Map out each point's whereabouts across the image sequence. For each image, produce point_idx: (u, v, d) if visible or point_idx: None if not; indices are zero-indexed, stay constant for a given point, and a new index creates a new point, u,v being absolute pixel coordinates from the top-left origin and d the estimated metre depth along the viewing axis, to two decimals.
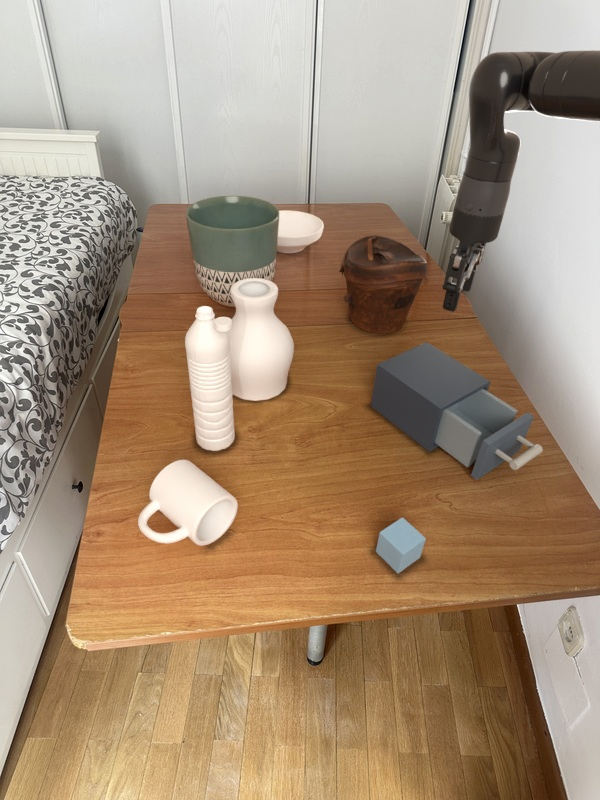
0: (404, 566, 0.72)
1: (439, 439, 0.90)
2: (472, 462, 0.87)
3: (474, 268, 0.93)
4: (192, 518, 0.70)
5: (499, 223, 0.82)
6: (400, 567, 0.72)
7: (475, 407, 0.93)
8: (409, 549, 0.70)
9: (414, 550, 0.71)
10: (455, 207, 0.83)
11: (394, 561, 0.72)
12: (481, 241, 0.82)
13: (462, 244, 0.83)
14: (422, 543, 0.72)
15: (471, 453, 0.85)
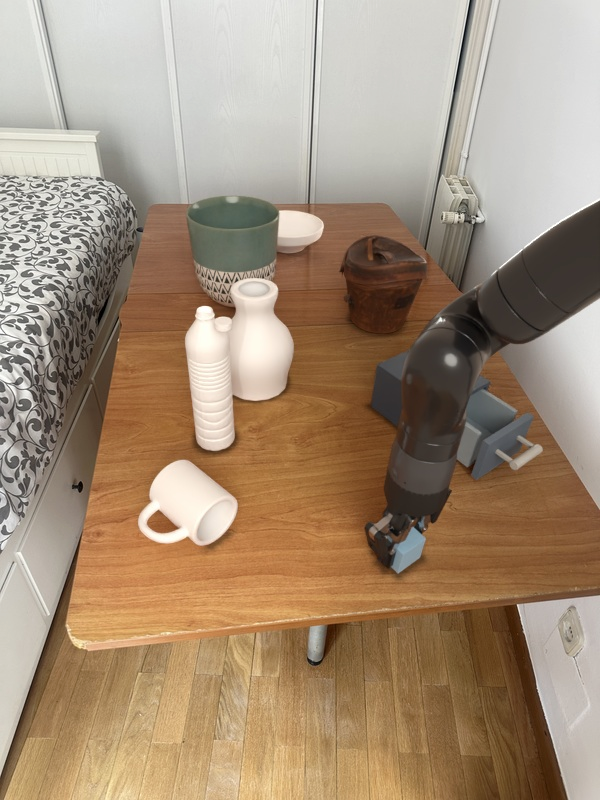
0: (404, 566, 0.72)
1: None
2: (472, 462, 0.87)
3: (419, 530, 0.72)
4: (192, 518, 0.70)
5: (436, 500, 0.62)
6: (400, 567, 0.72)
7: (475, 407, 0.93)
8: (409, 549, 0.70)
9: (414, 550, 0.71)
10: None
11: (394, 561, 0.72)
12: (409, 514, 0.64)
13: (388, 507, 0.66)
14: (422, 543, 0.72)
15: (471, 453, 0.85)
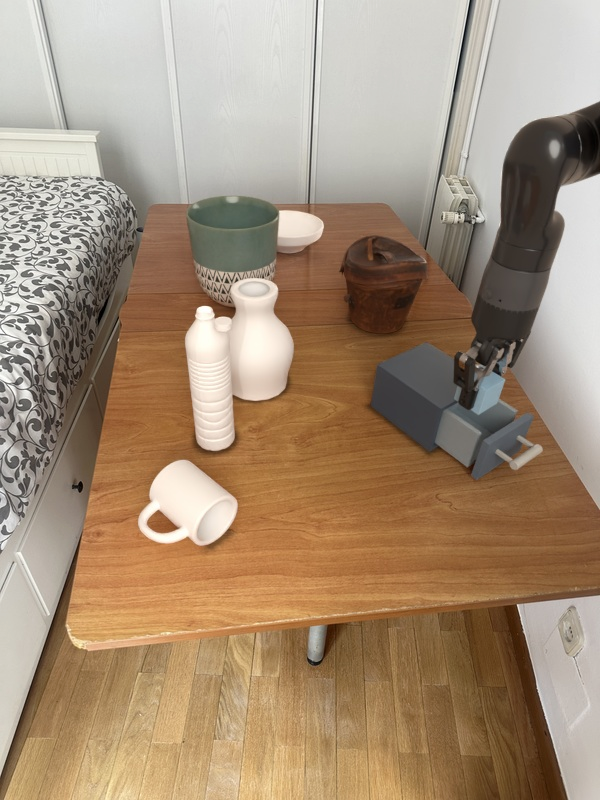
0: (484, 408, 0.75)
1: (439, 439, 0.90)
2: (472, 462, 0.87)
3: (499, 373, 0.75)
4: (192, 518, 0.70)
5: (527, 320, 0.65)
6: (481, 407, 0.75)
7: None
8: (492, 386, 0.73)
9: (494, 390, 0.74)
10: None
11: (475, 401, 0.75)
12: (500, 337, 0.67)
13: (477, 335, 0.68)
14: (502, 384, 0.75)
15: (471, 453, 0.85)
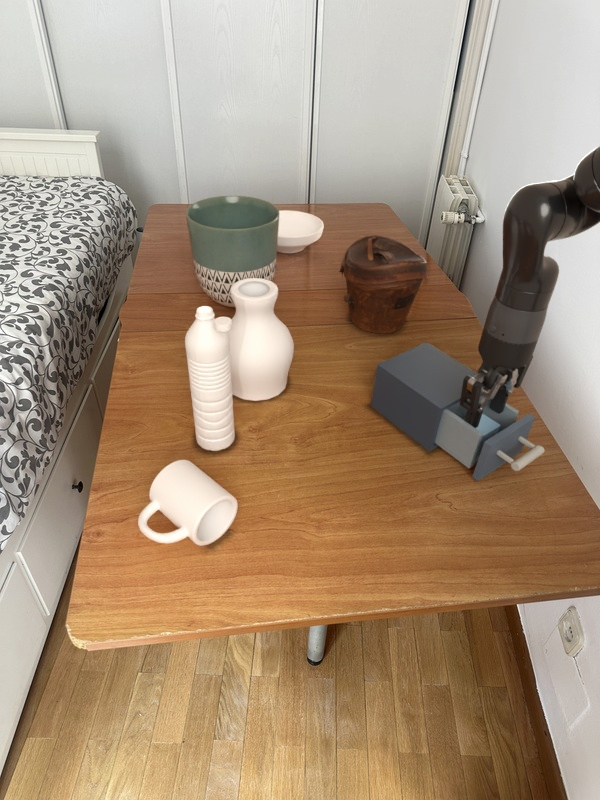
0: None
1: (440, 440, 0.89)
2: (473, 463, 0.87)
3: (506, 392, 0.85)
4: (192, 518, 0.70)
5: (527, 351, 0.75)
6: (479, 449, 0.87)
7: None
8: (488, 432, 0.86)
9: (491, 435, 0.87)
10: None
11: None
12: (503, 366, 0.76)
13: (484, 363, 0.78)
14: (497, 429, 0.87)
15: (472, 454, 0.84)
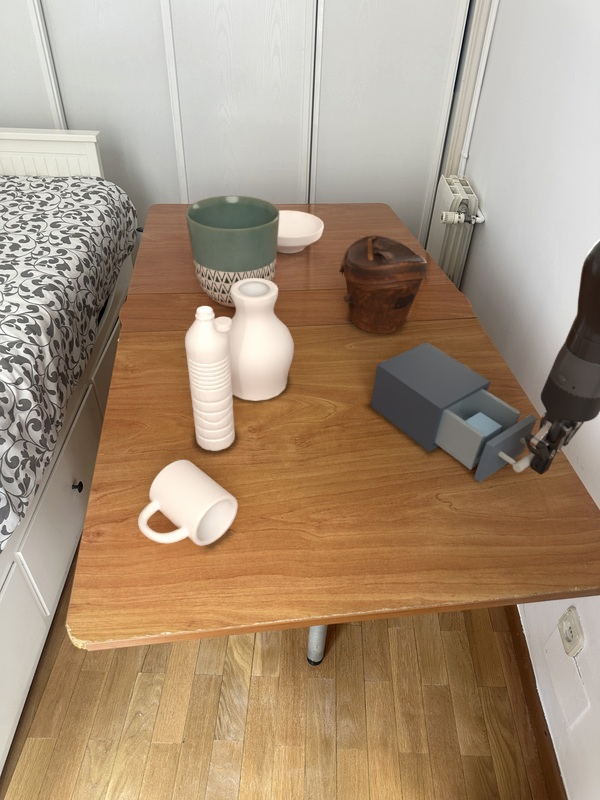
0: (483, 450, 0.87)
1: (441, 441, 0.89)
2: (475, 464, 0.86)
3: None
4: (192, 518, 0.70)
5: (598, 405, 0.69)
6: (481, 450, 0.87)
7: (477, 409, 0.93)
8: (490, 433, 0.85)
9: (492, 436, 0.87)
10: (550, 373, 0.71)
11: None
12: (571, 419, 0.70)
13: (548, 415, 0.72)
14: (499, 430, 0.87)
15: (474, 455, 0.84)
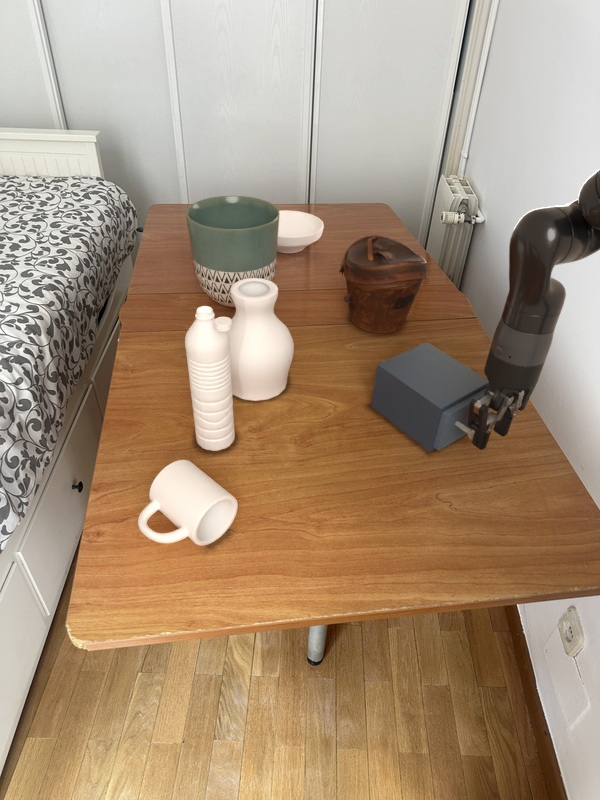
0: None
1: None
2: None
3: (510, 415, 0.84)
4: (192, 518, 0.70)
5: (534, 373, 0.74)
6: None
7: None
8: None
9: None
10: None
11: None
12: (510, 388, 0.76)
13: (490, 385, 0.77)
14: None
15: None
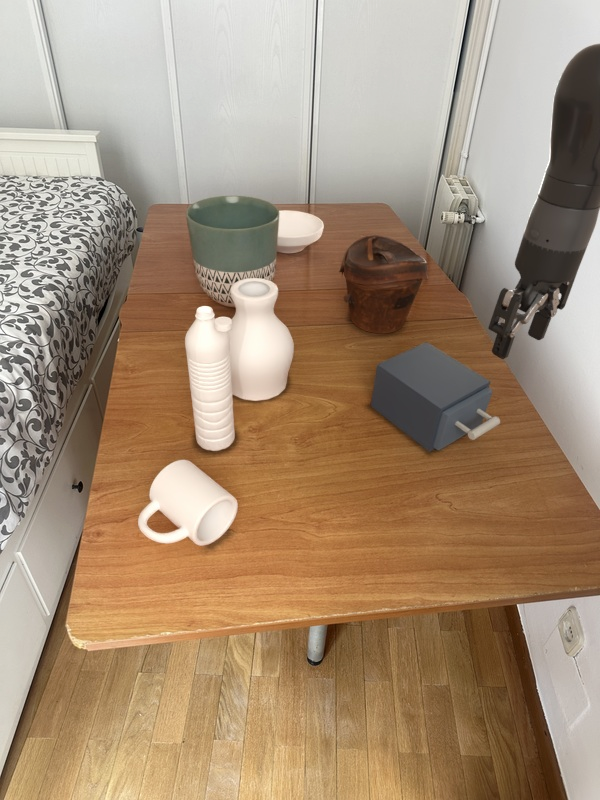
0: None
1: None
2: None
3: (549, 313, 0.75)
4: (192, 518, 0.70)
5: (574, 262, 0.65)
6: None
7: None
8: None
9: None
10: (523, 234, 0.67)
11: None
12: (546, 280, 0.66)
13: (522, 279, 0.68)
14: None
15: None
